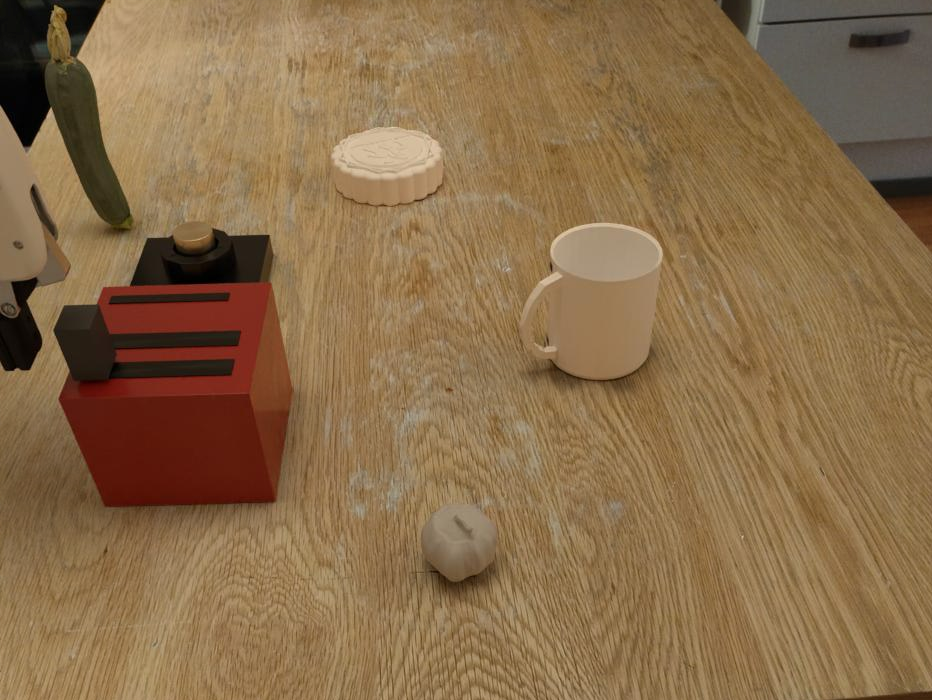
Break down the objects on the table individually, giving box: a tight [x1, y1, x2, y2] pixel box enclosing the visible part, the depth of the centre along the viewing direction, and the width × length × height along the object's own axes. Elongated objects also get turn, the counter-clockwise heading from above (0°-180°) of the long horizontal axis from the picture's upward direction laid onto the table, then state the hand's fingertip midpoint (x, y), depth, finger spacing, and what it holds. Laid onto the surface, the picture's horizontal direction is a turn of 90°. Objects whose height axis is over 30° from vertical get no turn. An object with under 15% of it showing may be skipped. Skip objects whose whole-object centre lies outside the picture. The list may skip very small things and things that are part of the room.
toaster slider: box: [52, 303, 117, 381], centre depth 65 cm, size 2×3×4 cm
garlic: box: [420, 501, 499, 583], centre depth 67 cm, size 6×5×5 cm
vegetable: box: [44, 4, 135, 230], centre depth 92 cm, size 4×4×20 cm
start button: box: [172, 220, 216, 257], centre depth 89 cm, size 4×4×2 cm
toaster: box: [58, 281, 294, 508], centre depth 74 cm, size 13×14×10 cm
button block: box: [129, 227, 275, 286], centre depth 91 cm, size 12×10×4 cm
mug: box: [519, 222, 664, 381], centre depth 81 cm, size 12×9×9 cm
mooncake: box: [330, 125, 444, 207], centre depth 104 cm, size 12×12×4 cm
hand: (23, 358), depth 66 cm, fingers closed
